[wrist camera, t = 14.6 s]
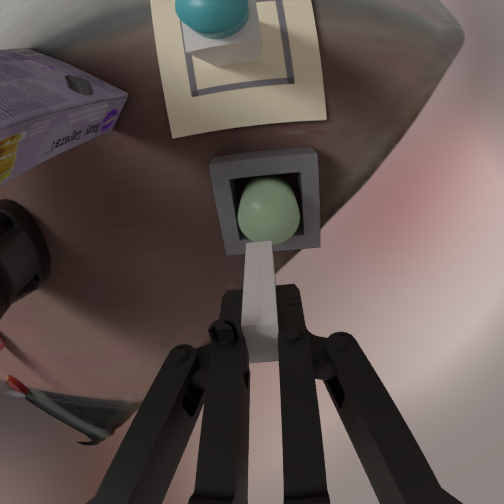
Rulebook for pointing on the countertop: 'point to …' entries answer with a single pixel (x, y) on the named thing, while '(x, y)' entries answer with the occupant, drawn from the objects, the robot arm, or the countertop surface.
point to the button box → (267, 164)
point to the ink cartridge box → (1, 344)
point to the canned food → (15, 387)
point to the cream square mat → (243, 73)
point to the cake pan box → (49, 109)
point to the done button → (268, 209)
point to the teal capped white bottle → (221, 30)
